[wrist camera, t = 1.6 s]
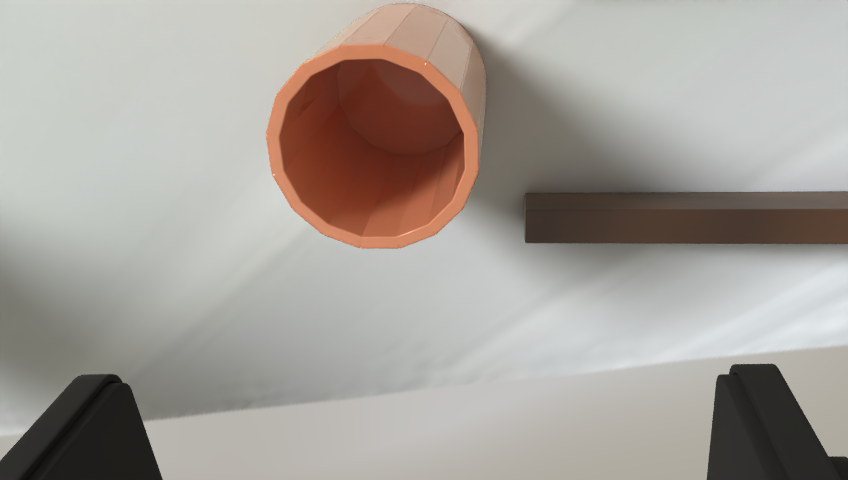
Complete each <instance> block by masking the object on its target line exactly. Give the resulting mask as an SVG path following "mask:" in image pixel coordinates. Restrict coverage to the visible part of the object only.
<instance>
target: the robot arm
mask: <svg viewBox="0 0 848 480" xmlns="http://www.w3.org/2000/svg"><path fill="white" fill-rule="evenodd" d="M0 480H162V477H161V474H160V471H159V468H158V465H157V462H156V459H155V456H154V453H153V451H152V448H151V445H150V442H149V439H148V437H147V433H146V430H145V428H144V425H143V422H142V419H141V416H140V413H139V410H138V407H137V404H136V401H135V398H134V396H133V393H132V390H131V388H130V386H129V385H128V384H126V383H123V382H122V381H121V379H120V378H119V377H118V376H117V375H113V374H99V375H81V376H78V377H77V378H75V379H74V380H73V381H72V382H71V383H70V384H69V385H68V387H67V388H66V389H65V390H64V391H63V392H62V393H61V394H60V395H59V397H58V398H57V399H56V400H55V401H54V402H53V403H52V404H51V405H50V406H49V408H48V409H47V410H46V411H45V412H44V413H43V414H42V415H41V416H40V418H39V419H38V420H37V421H36V422H35V423H34V424H33V425H32V426H31V427H30V429H29V430H28V431H27V432H26V433H25V434H24V435H23V436H22V438H21V439H20V440H19V441H18V442H17V443H16V444H15V445H14V446H13V448H11V450H10V451H9V452H8V453H7V454H6V455H5V456H4V457H3V458H2V460H1V461H0ZM707 480H848V458H846V457H828V455H827V453H826V452H825V450H824V448H823V446H822V445H821V443H820V441H819V439H818V438H817V436H816V434H815V432H814V431H813V429H812V427H811V425H810V423H809V422H808V420H807V418H806V417H805V415H804V413H803V411H802V409H801V408H800V406H799V404H798V402H797V401H796V399H795V397H794V395H793V394H792V392H791V390H790V388H789V386H788V385H787V383H786V381H785V379H784V378H783V376H782V374H781V372H780V371H779V369H778V368H777V366H776V365H774V364H735V365H732V366H731V369H730V372H729V374H728V375H719V376H718V378H717V382H716V391H715V401H714V412H713V421H712V432H711V442H710V452H709V463H708V473H707Z"/></svg>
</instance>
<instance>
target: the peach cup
mask: <svg viewBox="0 0 848 480" xmlns="http://www.w3.org/2000/svg"><path fill="white" fill-rule="evenodd" d="M485 107H486V71H485V68H484V63H483V60H482V57H481V55H480V52H479V50H478V48H477V46H476V44H475V42H474V41H473V39H472V38H471V37H470V35H469V34H468V33H467V32H466V30H465V29H464V28H463V27H462V26H461V25H460V24H459V23H457V22H456V21H455V20H454V19H452V18H451V17H449V16H448V15H446V14H445V13H443V12H441V11H439V10H436V9H434V8H431V7H428V6H425V5H419V4H414V3H400V4H391V5H387V6H383V7H380V8H378V9H376V10H373V11H371V12H369V13H368V14H366V15H364V16H363V17H361V18H358V19H356V20H355V21H354V22H353V23H351V24H350V25H349V26H348V27H347V28H345V29H344V30H343V31H342V32H340V33H339V34H338V35H337V36H335V37H334V38H333V39H332V40H331V41H329V42H328V43H327V44H326V45H324V46H323V47H322V48H321V49H319V50H318V51H317V52H316V53H315V54H313V55H312V56H311V57H310V58H308V59H307V60H306V61H305V62H303V63H302V64H301V65H300V66H299V67H298V69H297V70H296V71H295V72H294V74H293V75H292V76H291V77H290V78H289V80H288V81H287V82H286V83H285V85H284V86H283V87H282V88H281V89H280V91H279V92H278V93H277V96H276V97H275V100H274V104H273V108H272V112H271V115H270V119H269V123H268V127H267V131H266V140H267V146H268V153H269V159H270V166H271V172H272V175H273V177H274V179H275V181H276V182H277V184H278V186H279V187H280V189H281V191H282V193H283V194H284V196H285V198H286V199H287V201H288V203H289V205H290V206H291V208H293V210H294V211H295V212H296V213H297V214H299V215H300V216H301V217H302V218H304V219H305V220H306V221H307V222H308V223H310V224H311V225H312V226H313V227H314V228H316V229H317V230H318V231H319V232H320V233H322V234H324V235H325V236H328V237H331V238H333V239H336V240H339V241H342V242H344V243H347V244H350V245H353V246H355V247H358V248H360V247H361V248H402V247H405V246H407V245H410V244H413V243H415V242H418V241H420V240H423V239H426V238H428V237H431V236H433V235H435V234H437V233H438V232H439V231H440V230H441V229H442V228H443V227H444V226H445V225H447V224H448V223H449V222H450V221H451V220H452V219H453V218H454V217H455V216H456V215H457V214H458V213H459V212H460V211H461V210H462V209H463V208H464V206H465V204H466V202H467V199H468V197H469V195H470V192H471V190H472V188H473V185H474V183H475V180H476V178H477V176H478V173H479V166H480V156H481V146H482V137H483V127H484V117H485Z"/></svg>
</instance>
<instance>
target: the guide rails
mask: <svg viewBox="0 0 848 480" xmlns="http://www.w3.org/2000/svg"><path fill="white" fill-rule="evenodd" d="M524 237H525V243H665V244H848V192H679V193H526V194H525V195H524Z"/></svg>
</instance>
